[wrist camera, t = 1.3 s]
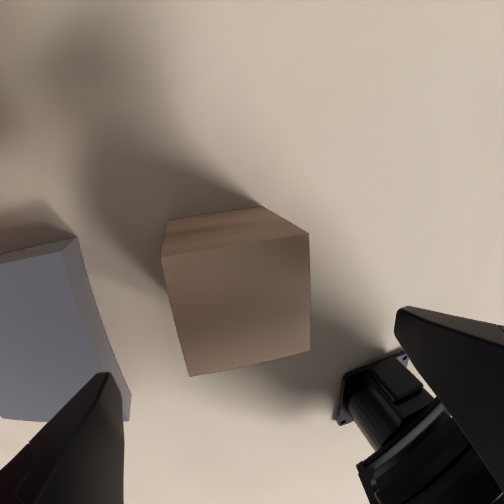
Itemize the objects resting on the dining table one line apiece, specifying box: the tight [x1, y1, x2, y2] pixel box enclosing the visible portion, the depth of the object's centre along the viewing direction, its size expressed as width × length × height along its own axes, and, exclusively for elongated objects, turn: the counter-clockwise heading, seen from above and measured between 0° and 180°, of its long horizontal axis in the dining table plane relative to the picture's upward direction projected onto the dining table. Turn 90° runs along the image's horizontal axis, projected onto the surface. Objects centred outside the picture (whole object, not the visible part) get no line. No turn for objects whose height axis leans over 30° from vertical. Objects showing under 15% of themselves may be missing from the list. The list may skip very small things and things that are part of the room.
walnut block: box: [160, 206, 310, 377], centre depth 13 cm, size 5×5×6 cm
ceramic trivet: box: [0, 237, 131, 422], centre depth 13 cm, size 11×11×2 cm
